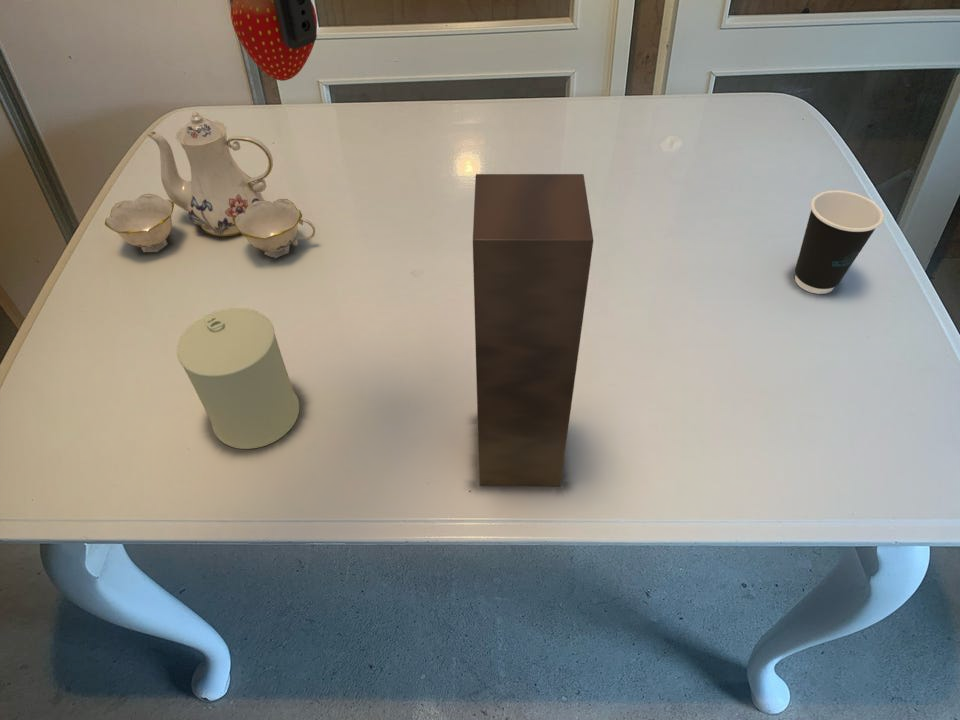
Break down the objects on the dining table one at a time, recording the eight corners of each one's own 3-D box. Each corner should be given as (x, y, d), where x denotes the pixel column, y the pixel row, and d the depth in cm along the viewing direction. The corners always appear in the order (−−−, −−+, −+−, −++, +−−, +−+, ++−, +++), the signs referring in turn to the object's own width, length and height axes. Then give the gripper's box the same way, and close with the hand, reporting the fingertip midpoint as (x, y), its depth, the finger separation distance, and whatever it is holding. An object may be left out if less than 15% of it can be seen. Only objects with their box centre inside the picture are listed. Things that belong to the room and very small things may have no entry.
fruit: (296, 58, 51) (271, -63, 45) (340, 78, 49) (319, -47, 43) (235, 82, 48) (199, -43, 43) (277, 105, 46) (246, -24, 40)
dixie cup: (791, 254, 91) (821, 182, 83) (854, 274, 88) (890, 202, 80) (774, 288, 86) (803, 215, 78) (839, 310, 83) (876, 237, 75)
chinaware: (109, 278, 92) (44, 178, 78) (144, 196, 102) (91, 95, 88) (317, 273, 92) (287, 172, 78) (331, 192, 102) (306, 91, 88)
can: (274, 369, 78) (246, 290, 69) (315, 418, 73) (291, 340, 64) (198, 410, 74) (158, 332, 65) (236, 464, 69) (198, 388, 60)
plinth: (479, 485, 67) (472, 240, 45) (480, 421, 73) (475, 173, 51) (560, 486, 67) (593, 240, 45) (556, 421, 72) (583, 173, 50)
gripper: (62, -324, 35) (174, 19, 48) (201, -316, 28) (290, 84, 41) (193, -330, 39) (265, -9, 51) (346, -324, 32) (387, 46, 44)
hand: (276, 31), depth 46 cm, fingers closed on fruit, 5 cm apart
